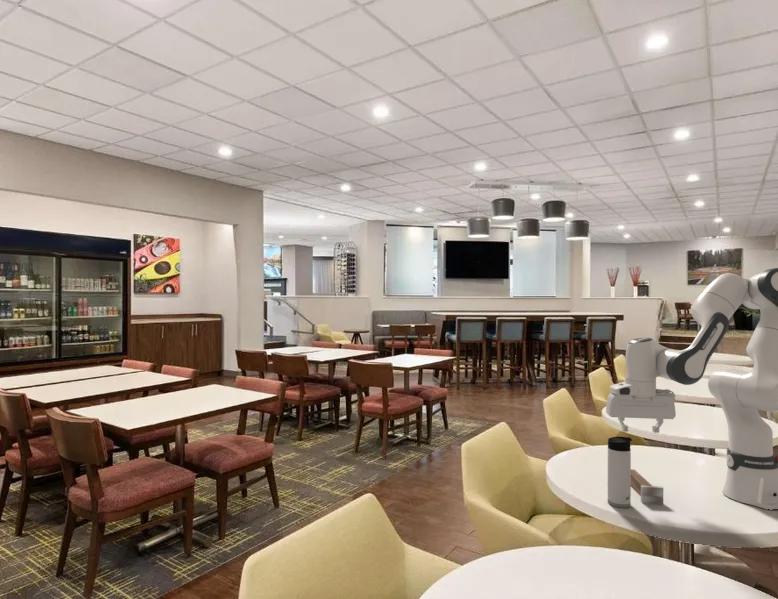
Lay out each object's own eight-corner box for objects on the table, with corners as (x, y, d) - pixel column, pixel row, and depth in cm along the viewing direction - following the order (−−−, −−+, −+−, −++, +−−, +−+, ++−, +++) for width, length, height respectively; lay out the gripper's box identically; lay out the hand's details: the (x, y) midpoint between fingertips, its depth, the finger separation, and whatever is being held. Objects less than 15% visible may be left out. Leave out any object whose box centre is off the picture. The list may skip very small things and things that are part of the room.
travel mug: (634, 509, 143) (634, 441, 143) (610, 507, 145) (610, 439, 144) (628, 500, 149) (628, 435, 149) (605, 498, 151) (605, 434, 151)
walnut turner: (639, 481, 165) (639, 466, 165) (663, 504, 147) (663, 487, 147) (620, 480, 166) (620, 466, 166) (642, 503, 147) (642, 486, 147)
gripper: (670, 387, 158) (670, 430, 158) (604, 386, 161) (604, 427, 161) (679, 391, 152) (679, 435, 152) (610, 389, 155) (610, 433, 155)
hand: (640, 431), depth 157 cm, fingers open, 8 cm apart
